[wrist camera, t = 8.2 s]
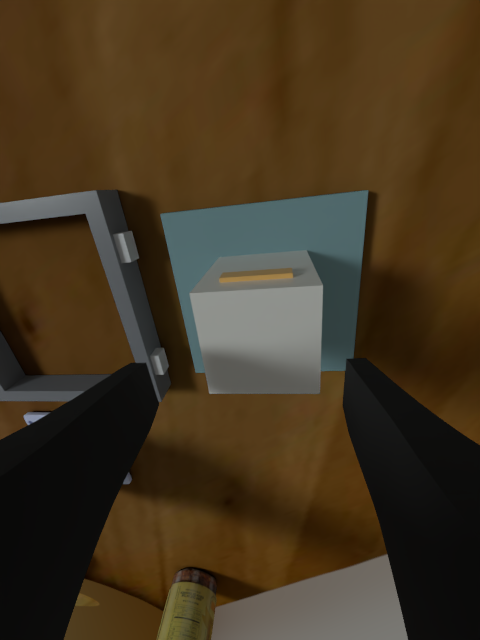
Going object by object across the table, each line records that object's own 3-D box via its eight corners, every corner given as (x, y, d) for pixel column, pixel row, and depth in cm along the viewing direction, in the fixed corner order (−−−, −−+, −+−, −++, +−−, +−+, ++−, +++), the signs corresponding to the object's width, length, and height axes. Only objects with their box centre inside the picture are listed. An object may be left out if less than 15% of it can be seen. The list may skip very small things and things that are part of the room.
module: (306, 329, 17) (319, 393, 12) (229, 331, 18) (209, 393, 12) (306, 246, 15) (323, 279, 9) (218, 253, 16) (188, 288, 10)
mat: (350, 365, 19) (352, 370, 18) (197, 367, 20) (195, 372, 20) (364, 190, 14) (368, 190, 13) (164, 213, 16) (160, 214, 15)
